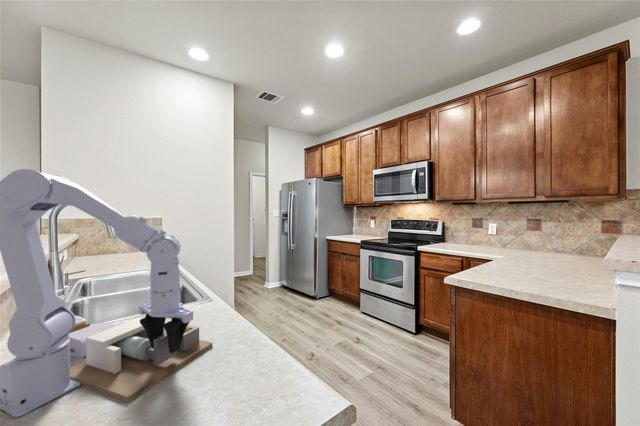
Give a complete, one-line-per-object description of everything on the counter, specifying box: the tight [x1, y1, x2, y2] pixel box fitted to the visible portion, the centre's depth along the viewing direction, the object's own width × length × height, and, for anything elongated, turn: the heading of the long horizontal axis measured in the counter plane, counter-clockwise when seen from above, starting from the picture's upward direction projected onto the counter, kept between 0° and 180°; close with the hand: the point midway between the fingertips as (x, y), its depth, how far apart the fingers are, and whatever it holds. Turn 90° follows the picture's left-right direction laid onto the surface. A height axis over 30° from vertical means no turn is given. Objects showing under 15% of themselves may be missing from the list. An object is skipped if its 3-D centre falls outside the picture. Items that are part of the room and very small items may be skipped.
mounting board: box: [70, 331, 213, 403], centre depth 64 cm, size 22×22×1 cm
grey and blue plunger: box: [110, 333, 177, 366], centre depth 63 cm, size 5×17×7 cm, turn 69°
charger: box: [69, 321, 125, 360], centre depth 73 cm, size 5×9×15 cm
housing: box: [85, 317, 200, 374], centre depth 66 cm, size 17×16×6 cm
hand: (165, 348), depth 60 cm, fingers open, 5 cm apart
